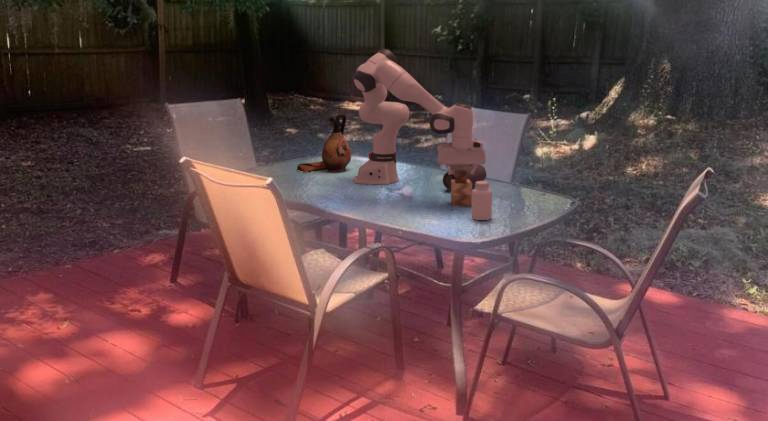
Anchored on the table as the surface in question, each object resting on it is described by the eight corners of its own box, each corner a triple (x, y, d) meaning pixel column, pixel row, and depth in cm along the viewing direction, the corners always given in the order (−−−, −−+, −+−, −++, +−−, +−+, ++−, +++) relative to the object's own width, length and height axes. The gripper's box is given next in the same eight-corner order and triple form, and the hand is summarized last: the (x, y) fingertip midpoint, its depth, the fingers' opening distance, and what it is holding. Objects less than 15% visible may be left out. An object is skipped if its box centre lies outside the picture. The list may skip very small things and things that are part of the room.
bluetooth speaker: (471, 182, 334) (472, 162, 331) (487, 185, 327) (487, 164, 325) (441, 190, 319) (441, 169, 316) (456, 193, 312) (457, 172, 309)
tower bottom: (452, 206, 292) (453, 195, 290) (451, 201, 299) (451, 190, 298) (471, 206, 291) (471, 195, 290) (469, 201, 299) (469, 190, 298)
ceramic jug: (337, 174, 351) (335, 116, 343) (316, 170, 361) (314, 114, 353) (359, 169, 363) (358, 113, 355) (339, 165, 373) (337, 110, 365)
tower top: (453, 195, 290) (453, 184, 289) (450, 190, 298) (451, 179, 296) (471, 195, 290) (472, 183, 289) (469, 190, 298) (469, 179, 297)
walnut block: (456, 183, 290) (456, 171, 289) (454, 180, 295) (455, 169, 293) (466, 183, 290) (467, 171, 289) (465, 180, 295) (465, 169, 293)
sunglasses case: (305, 173, 355) (301, 161, 356) (299, 177, 361) (295, 166, 362) (334, 168, 366) (330, 157, 367) (328, 173, 371) (324, 161, 372)
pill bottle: (469, 216, 277) (470, 180, 273) (488, 215, 278) (490, 179, 274) (473, 221, 270) (474, 184, 266) (493, 221, 270) (494, 184, 266)
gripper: (437, 144, 285) (437, 176, 289) (486, 143, 285) (485, 176, 288) (436, 141, 291) (436, 173, 295) (484, 141, 291) (483, 172, 295)
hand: (461, 174), depth 292 cm, fingers open, 8 cm apart
